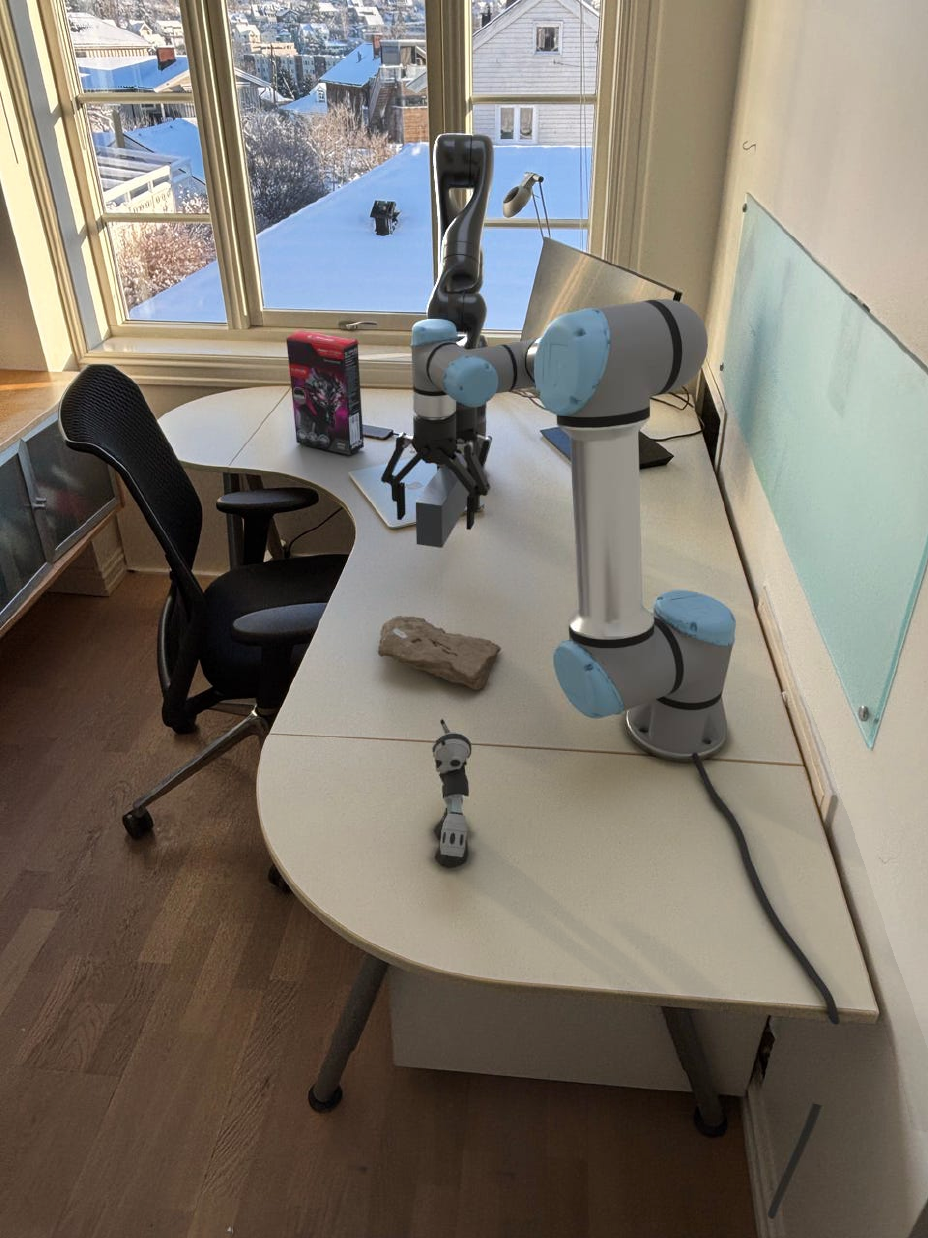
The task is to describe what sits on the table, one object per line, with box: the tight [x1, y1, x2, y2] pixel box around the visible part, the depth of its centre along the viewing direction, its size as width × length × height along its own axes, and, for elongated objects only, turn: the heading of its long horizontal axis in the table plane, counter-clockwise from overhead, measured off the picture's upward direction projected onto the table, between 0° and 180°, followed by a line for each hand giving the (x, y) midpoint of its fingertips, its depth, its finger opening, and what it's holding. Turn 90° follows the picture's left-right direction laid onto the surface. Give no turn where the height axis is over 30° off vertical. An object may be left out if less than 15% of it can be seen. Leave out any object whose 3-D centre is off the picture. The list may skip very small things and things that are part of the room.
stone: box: [377, 615, 502, 691], centre depth 155 cm, size 21×15×6 cm
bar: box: [415, 452, 469, 549], centre depth 177 cm, size 23×5×9 cm, turn 165°
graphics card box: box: [285, 330, 365, 456], centre depth 225 cm, size 17×7×27 cm, turn 62°
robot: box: [431, 718, 473, 868], centre depth 118 cm, size 20×5×20 cm, turn 3°
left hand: (456, 482), depth 183 cm, fingers closed on bar, 5 cm apart
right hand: (435, 521), depth 172 cm, fingers open, 13 cm apart
